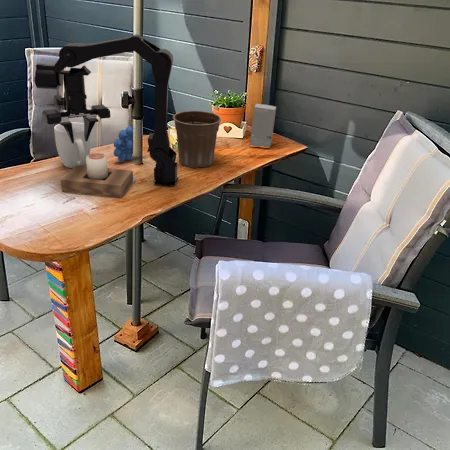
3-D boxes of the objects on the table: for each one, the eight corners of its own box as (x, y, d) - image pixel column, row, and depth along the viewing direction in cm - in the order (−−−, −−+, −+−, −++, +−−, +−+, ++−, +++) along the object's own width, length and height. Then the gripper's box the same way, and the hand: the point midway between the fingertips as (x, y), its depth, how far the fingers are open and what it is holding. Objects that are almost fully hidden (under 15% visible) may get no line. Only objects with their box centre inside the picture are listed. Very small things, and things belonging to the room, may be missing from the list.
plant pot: (209, 173, 163) (211, 126, 156) (165, 166, 168) (165, 119, 160) (224, 158, 177) (227, 114, 170) (183, 151, 181) (184, 108, 174)
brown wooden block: (133, 182, 153) (132, 170, 152) (121, 198, 143) (120, 185, 141) (77, 177, 155) (76, 165, 153) (61, 192, 144) (60, 179, 142)
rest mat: (138, 177, 157) (138, 176, 157) (132, 185, 151) (132, 184, 151) (117, 175, 158) (117, 174, 158) (110, 183, 152) (110, 182, 152)
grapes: (132, 153, 177) (131, 120, 171) (145, 158, 173) (144, 125, 167) (106, 161, 169) (104, 127, 163) (119, 166, 165) (117, 131, 159)
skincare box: (249, 147, 190) (252, 107, 182) (251, 142, 196) (254, 102, 188) (271, 150, 189) (275, 109, 181) (272, 144, 195) (276, 104, 187)
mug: (101, 171, 160) (98, 132, 154) (67, 177, 154) (63, 137, 148) (85, 157, 171) (82, 120, 165) (53, 162, 165) (49, 124, 159)
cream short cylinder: (110, 172, 149) (109, 153, 147) (104, 180, 144) (102, 160, 141) (91, 171, 150) (90, 151, 147) (84, 178, 145) (82, 158, 142)
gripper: (96, 82, 152) (99, 131, 159) (34, 86, 142) (40, 138, 149) (109, 89, 143) (112, 141, 151) (44, 95, 134) (51, 149, 141)
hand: (79, 142), depth 148 cm, fingers open, 4 cm apart
